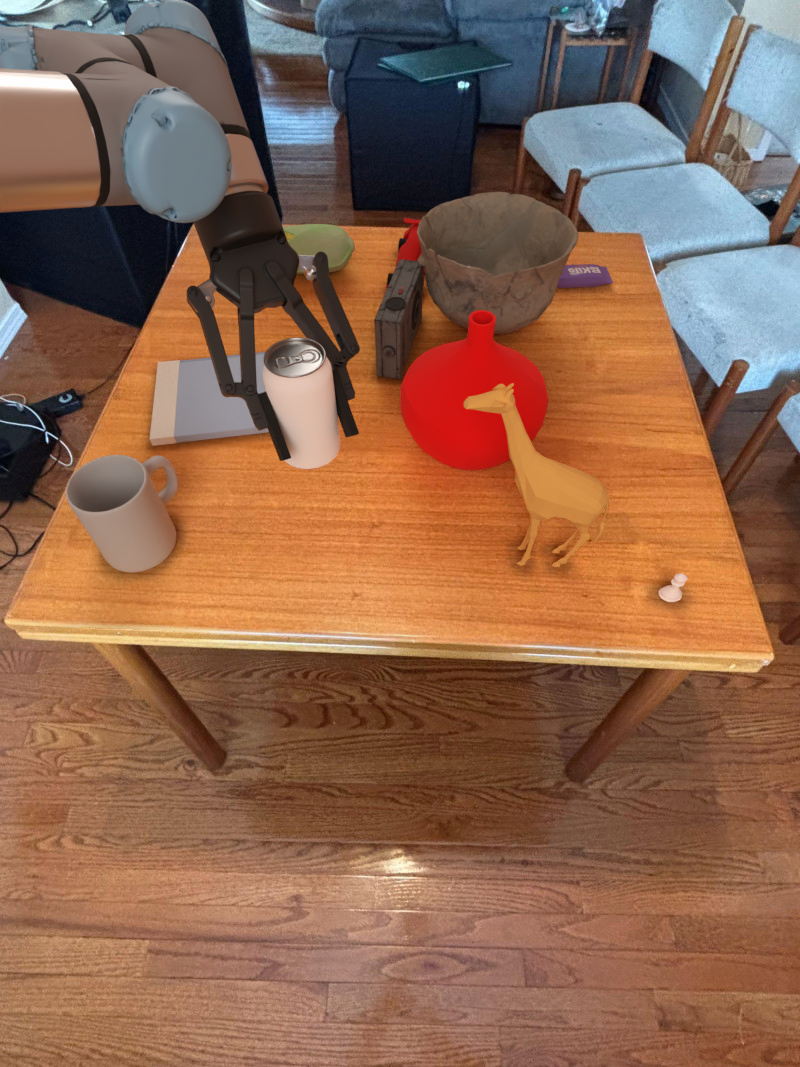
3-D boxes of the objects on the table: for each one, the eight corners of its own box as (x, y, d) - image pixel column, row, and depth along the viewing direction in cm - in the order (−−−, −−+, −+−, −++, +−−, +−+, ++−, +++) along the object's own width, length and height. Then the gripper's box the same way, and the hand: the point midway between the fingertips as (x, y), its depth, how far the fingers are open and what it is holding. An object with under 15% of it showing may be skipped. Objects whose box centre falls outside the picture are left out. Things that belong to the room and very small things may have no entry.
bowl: (390, 314, 102) (389, 222, 90) (486, 265, 111) (496, 175, 98) (488, 383, 92) (501, 290, 80) (585, 323, 101) (610, 231, 89)
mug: (139, 585, 72) (102, 527, 63) (88, 552, 75) (46, 492, 66) (212, 515, 78) (187, 453, 69) (162, 487, 81) (132, 424, 72)
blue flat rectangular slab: (152, 446, 85) (149, 439, 84) (160, 368, 95) (157, 361, 94) (301, 429, 87) (300, 422, 86) (294, 355, 96) (293, 348, 95)
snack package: (607, 261, 108) (615, 278, 105) (604, 271, 109) (612, 288, 106) (540, 263, 107) (545, 280, 104) (538, 273, 109) (543, 291, 106)
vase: (372, 451, 84) (365, 328, 69) (450, 378, 93) (459, 254, 78) (489, 516, 78) (510, 396, 62) (561, 431, 86) (596, 308, 71)
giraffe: (448, 564, 74) (463, 399, 53) (450, 533, 76) (467, 366, 56) (591, 578, 72) (663, 415, 52) (589, 547, 75) (657, 380, 55)
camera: (400, 385, 92) (400, 326, 84) (374, 381, 93) (371, 322, 85) (423, 318, 102) (424, 260, 94) (399, 315, 102) (398, 256, 94)
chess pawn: (678, 587, 72) (691, 567, 68) (683, 602, 70) (697, 583, 67) (655, 587, 72) (667, 568, 68) (660, 603, 70) (672, 584, 67)
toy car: (384, 301, 104) (383, 273, 100) (402, 244, 115) (402, 216, 111) (419, 304, 104) (420, 276, 100) (434, 247, 114) (435, 219, 110)
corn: (352, 261, 102) (229, 264, 103) (357, 283, 111) (243, 285, 111) (352, 211, 103) (229, 214, 103) (356, 236, 111) (243, 239, 111)
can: (348, 462, 66) (339, 370, 56) (287, 478, 65) (267, 386, 55) (331, 421, 69) (319, 328, 60) (273, 436, 68) (251, 342, 59)
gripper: (321, 198, 64) (395, 419, 68) (128, 246, 59) (222, 480, 63) (338, 164, 57) (419, 412, 61) (120, 214, 52) (226, 481, 56)
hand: (319, 447), depth 62 cm, fingers closed on can, 6 cm apart
